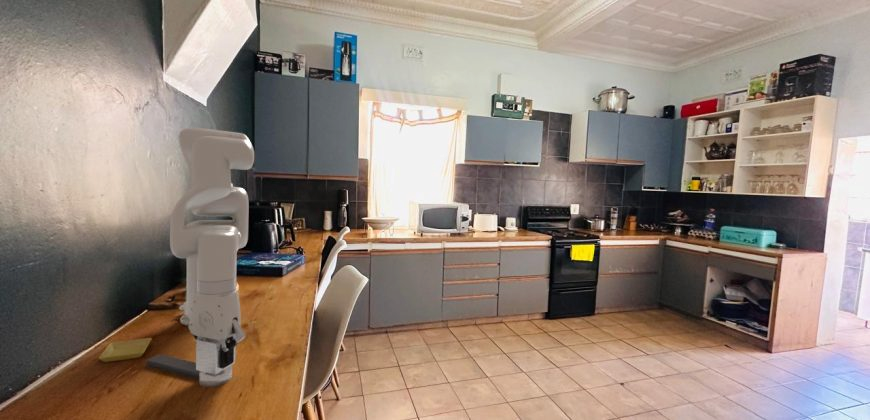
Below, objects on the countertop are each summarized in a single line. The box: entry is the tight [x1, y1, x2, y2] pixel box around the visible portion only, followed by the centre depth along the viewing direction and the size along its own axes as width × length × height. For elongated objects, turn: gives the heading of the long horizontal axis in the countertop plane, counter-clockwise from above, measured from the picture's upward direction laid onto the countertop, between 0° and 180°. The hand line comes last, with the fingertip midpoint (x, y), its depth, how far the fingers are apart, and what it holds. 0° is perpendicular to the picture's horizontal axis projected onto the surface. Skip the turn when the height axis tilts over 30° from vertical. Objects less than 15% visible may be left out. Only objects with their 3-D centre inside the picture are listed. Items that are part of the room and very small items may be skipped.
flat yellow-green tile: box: [98, 337, 153, 363], centre depth 90 cm, size 9×9×2 cm
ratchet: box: [145, 353, 233, 388], centre depth 84 cm, size 22×6×5 cm, turn 75°
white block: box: [195, 334, 236, 375], centre depth 81 cm, size 5×5×7 cm
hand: (216, 362), depth 82 cm, fingers closed on white block, 5 cm apart
